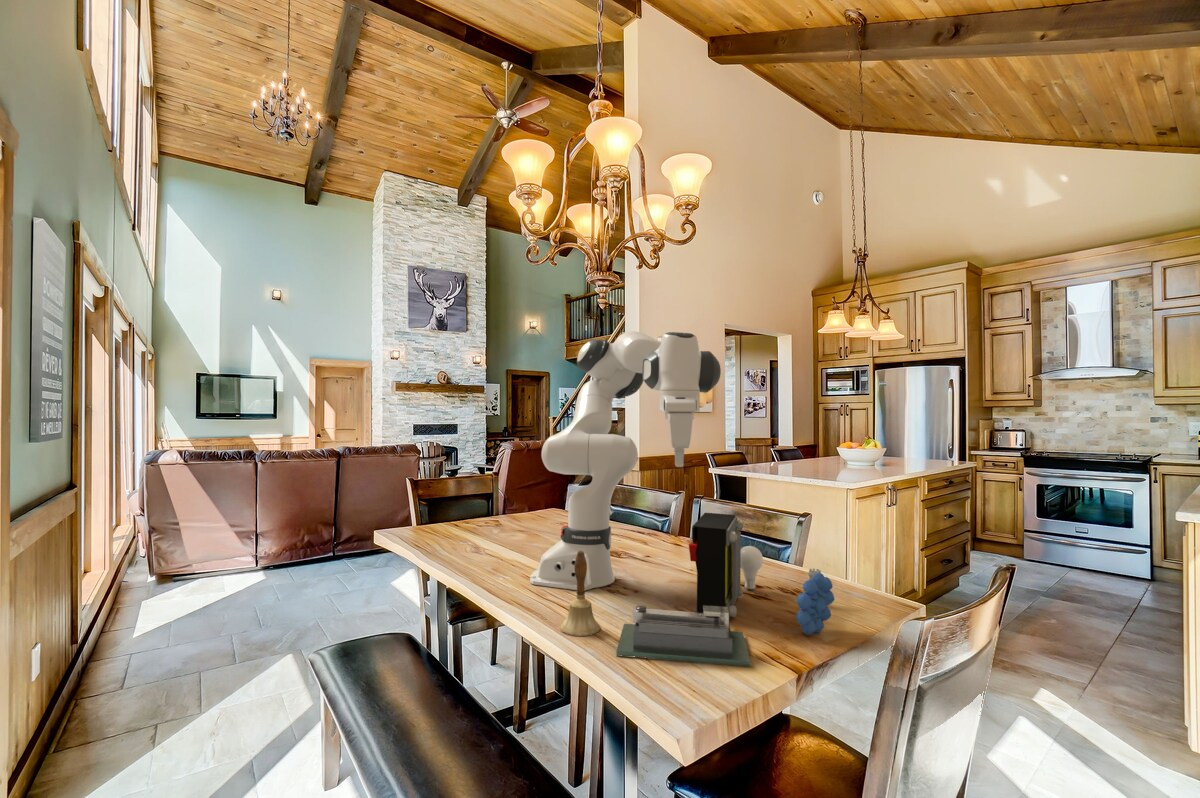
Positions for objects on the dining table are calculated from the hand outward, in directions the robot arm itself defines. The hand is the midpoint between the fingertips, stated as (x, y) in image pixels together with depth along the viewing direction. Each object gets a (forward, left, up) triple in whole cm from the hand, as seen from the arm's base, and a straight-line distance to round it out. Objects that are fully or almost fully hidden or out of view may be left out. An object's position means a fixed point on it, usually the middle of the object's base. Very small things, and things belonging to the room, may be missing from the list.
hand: (679, 466), depth 120 cm
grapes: (+27, -3, -33) cm, 43 cm away
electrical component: (+9, +8, -33) cm, 35 cm away
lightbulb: (+18, +22, -33) cm, 44 cm away
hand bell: (-20, -10, -33) cm, 40 cm away
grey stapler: (+1, -15, -33) cm, 36 cm away
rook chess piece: (+32, +14, -33) cm, 48 cm away
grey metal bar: (-1, -15, -29) cm, 33 cm away
